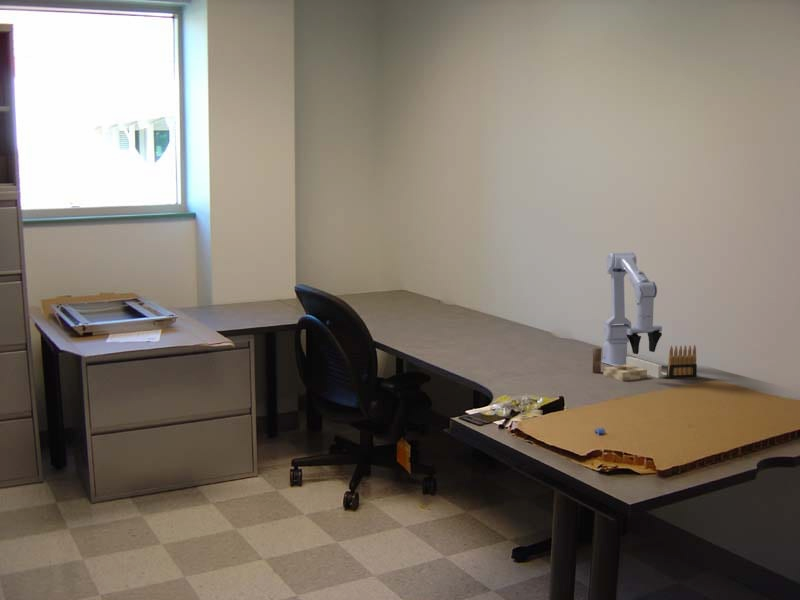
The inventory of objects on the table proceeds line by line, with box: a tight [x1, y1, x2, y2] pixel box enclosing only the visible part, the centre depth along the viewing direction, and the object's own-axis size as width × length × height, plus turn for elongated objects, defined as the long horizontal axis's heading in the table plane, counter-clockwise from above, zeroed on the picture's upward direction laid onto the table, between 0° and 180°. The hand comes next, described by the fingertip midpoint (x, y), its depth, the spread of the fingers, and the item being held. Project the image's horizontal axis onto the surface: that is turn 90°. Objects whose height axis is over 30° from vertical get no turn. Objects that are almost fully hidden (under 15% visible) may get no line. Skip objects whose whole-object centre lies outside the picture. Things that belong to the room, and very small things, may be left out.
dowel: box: [592, 347, 602, 374], centre depth 322 cm, size 3×3×9 cm
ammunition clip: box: [666, 344, 698, 380], centre depth 312 cm, size 11×2×12 cm, turn 97°
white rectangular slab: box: [626, 356, 667, 379], centre depth 322 cm, size 18×6×4 cm, turn 24°
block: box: [603, 364, 648, 382], centre depth 316 cm, size 11×11×3 cm
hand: (643, 352), depth 310 cm, fingers open, 7 cm apart
